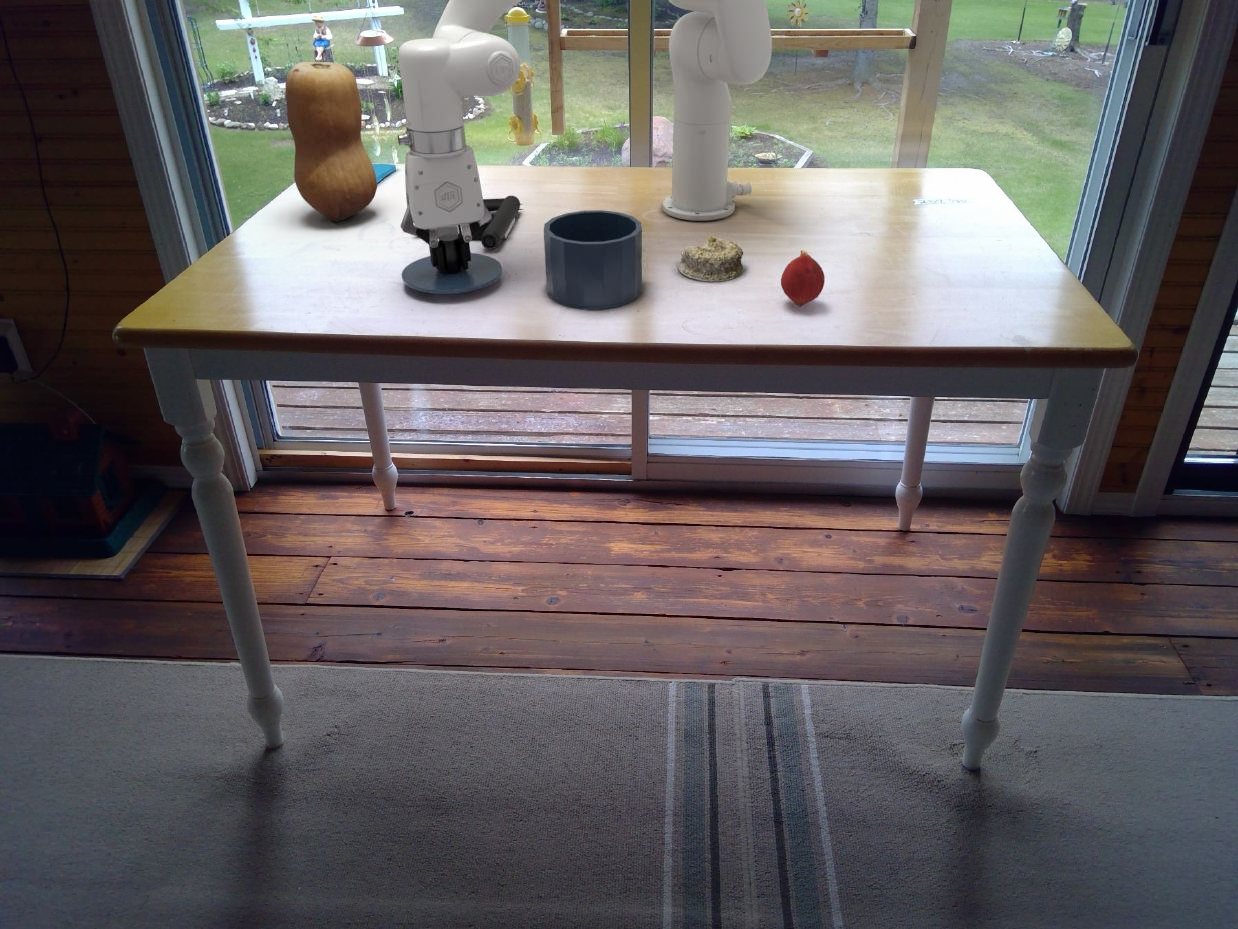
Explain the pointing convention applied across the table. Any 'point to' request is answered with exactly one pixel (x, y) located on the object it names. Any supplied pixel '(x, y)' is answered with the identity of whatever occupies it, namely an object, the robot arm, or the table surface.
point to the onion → (802, 279)
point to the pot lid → (452, 271)
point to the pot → (593, 259)
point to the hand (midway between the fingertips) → (451, 267)
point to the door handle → (492, 222)
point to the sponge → (383, 170)
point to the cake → (712, 261)
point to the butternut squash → (328, 139)
